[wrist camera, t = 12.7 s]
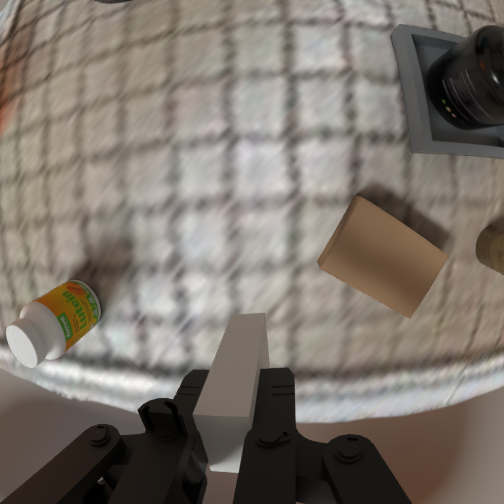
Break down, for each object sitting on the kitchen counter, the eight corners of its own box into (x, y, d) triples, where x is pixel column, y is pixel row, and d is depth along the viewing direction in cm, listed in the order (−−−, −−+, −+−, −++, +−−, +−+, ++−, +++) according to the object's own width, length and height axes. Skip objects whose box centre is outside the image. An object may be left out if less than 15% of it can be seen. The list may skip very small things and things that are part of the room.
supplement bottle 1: (111, 314, 27) (53, 365, 18) (83, 334, 28) (29, 381, 19) (81, 268, 26) (13, 305, 17) (55, 292, 27) (-6, 330, 18)
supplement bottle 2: (449, 46, 17) (525, -6, 6) (494, 106, 18) (584, 87, 6) (408, 82, 19) (490, 26, 7) (459, 147, 20) (560, 139, 8)
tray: (390, 36, 18) (399, 24, 16) (483, 54, 17) (496, 47, 15) (411, 153, 21) (424, 151, 18) (502, 158, 19) (517, 158, 17)
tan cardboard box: (353, 194, 23) (361, 196, 20) (435, 249, 23) (448, 256, 20) (316, 259, 24) (320, 268, 22) (400, 306, 24) (409, 318, 22)
